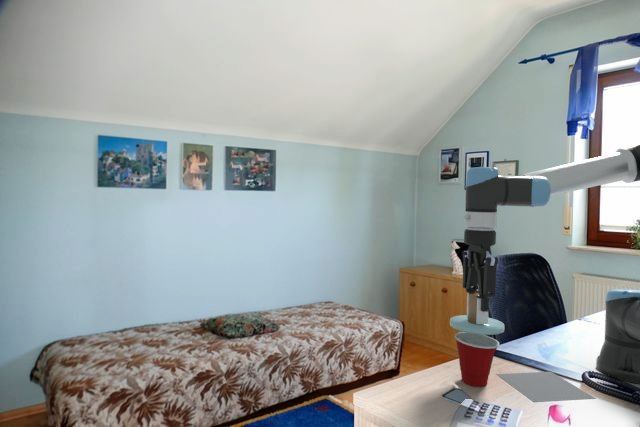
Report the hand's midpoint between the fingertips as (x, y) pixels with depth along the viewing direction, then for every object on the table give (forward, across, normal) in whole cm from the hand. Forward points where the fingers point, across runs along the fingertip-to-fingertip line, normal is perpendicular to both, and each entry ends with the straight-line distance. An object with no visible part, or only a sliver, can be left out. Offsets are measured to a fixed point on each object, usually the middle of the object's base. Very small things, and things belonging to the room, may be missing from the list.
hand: (476, 320), depth 112 cm
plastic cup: (+17, 0, 0) cm, 17 cm away
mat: (+16, +4, +16) cm, 23 cm away
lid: (+2, 0, 0) cm, 2 cm away
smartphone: (+17, +10, -5) cm, 20 cm away
